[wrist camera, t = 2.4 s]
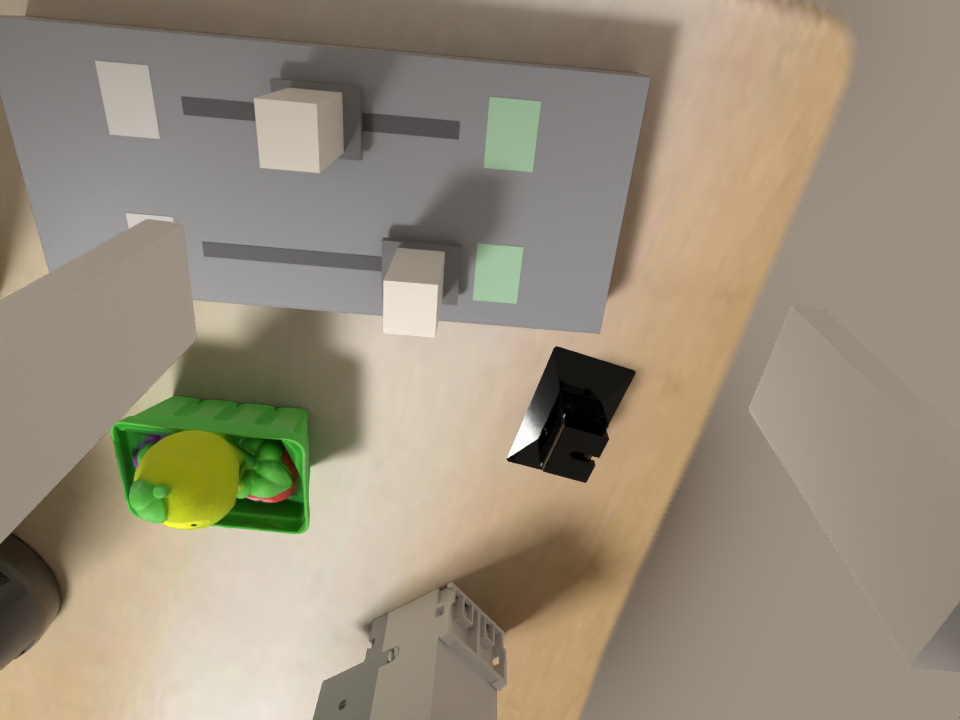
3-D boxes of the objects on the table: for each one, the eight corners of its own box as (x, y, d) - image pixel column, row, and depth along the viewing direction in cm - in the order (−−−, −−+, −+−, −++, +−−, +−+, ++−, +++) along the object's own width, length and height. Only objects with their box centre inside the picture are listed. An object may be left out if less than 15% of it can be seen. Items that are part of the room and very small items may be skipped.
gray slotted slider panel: (86, 269, 36) (53, 288, 33) (24, 16, 29) (-23, 15, 27) (592, 311, 36) (599, 334, 34) (637, 73, 30) (650, 77, 27)
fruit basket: (166, 468, 43) (69, 601, 33) (146, 360, 39) (27, 475, 29) (328, 483, 43) (279, 619, 33) (325, 377, 39) (268, 497, 29)
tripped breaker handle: (279, 151, 29) (240, 173, 25) (273, 77, 27) (231, 87, 23) (362, 158, 29) (339, 182, 25) (362, 85, 28) (337, 97, 23)
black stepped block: (580, 493, 44) (589, 540, 40) (485, 468, 43) (484, 513, 39) (656, 350, 38) (675, 388, 34) (548, 317, 37) (554, 352, 33)
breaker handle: (382, 295, 32) (365, 337, 28) (383, 237, 31) (365, 272, 27) (457, 301, 33) (451, 344, 28) (461, 244, 31) (456, 280, 27)
